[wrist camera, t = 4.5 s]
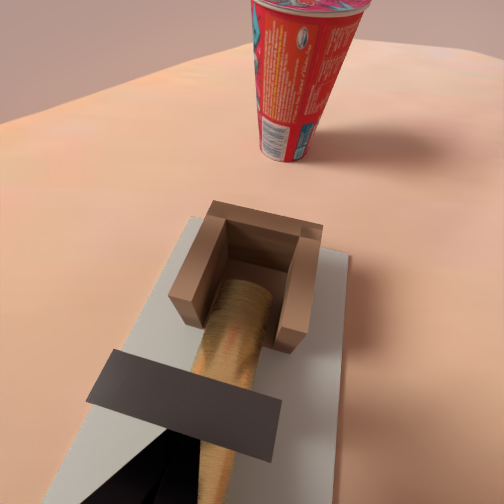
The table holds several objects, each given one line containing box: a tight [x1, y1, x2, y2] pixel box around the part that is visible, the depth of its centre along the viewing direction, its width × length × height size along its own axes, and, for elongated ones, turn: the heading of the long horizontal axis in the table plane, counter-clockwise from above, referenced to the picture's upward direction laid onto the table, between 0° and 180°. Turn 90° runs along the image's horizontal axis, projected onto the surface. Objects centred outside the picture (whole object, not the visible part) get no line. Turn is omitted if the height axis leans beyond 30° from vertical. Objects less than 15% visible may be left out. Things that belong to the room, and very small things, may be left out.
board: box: [41, 216, 349, 504], centre depth 13 cm, size 30×13×1 cm, turn 165°
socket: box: [168, 200, 323, 354], centre depth 16 cm, size 6×7×5 cm
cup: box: [251, 0, 372, 162], centre depth 22 cm, size 9×8×12 cm
